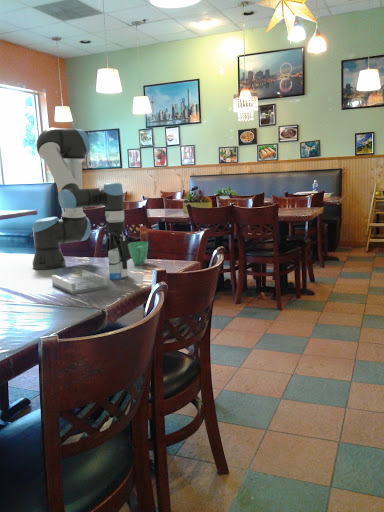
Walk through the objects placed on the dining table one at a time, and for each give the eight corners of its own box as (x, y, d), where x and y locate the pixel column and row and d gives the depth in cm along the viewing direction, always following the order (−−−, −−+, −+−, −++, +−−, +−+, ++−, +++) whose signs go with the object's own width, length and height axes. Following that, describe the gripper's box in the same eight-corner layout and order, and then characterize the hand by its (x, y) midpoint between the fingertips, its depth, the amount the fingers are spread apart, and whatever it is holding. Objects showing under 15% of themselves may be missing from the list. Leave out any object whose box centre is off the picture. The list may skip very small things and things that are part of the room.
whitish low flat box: (52, 285, 176) (51, 275, 175) (85, 279, 184) (85, 270, 183) (72, 294, 160) (71, 283, 159) (107, 288, 168) (107, 277, 168)
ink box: (120, 279, 182) (118, 251, 180) (109, 279, 183) (107, 251, 181) (127, 275, 190) (126, 247, 188) (116, 275, 191) (115, 247, 189)
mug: (127, 262, 218) (126, 242, 217) (146, 261, 221) (145, 241, 220) (132, 268, 205) (131, 246, 203) (153, 266, 208) (152, 245, 206)
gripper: (95, 220, 189) (98, 272, 193) (119, 223, 171) (123, 280, 175) (111, 219, 193) (114, 269, 197) (136, 222, 176) (139, 277, 180)
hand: (118, 274), depth 186 cm, fingers open, 9 cm apart
